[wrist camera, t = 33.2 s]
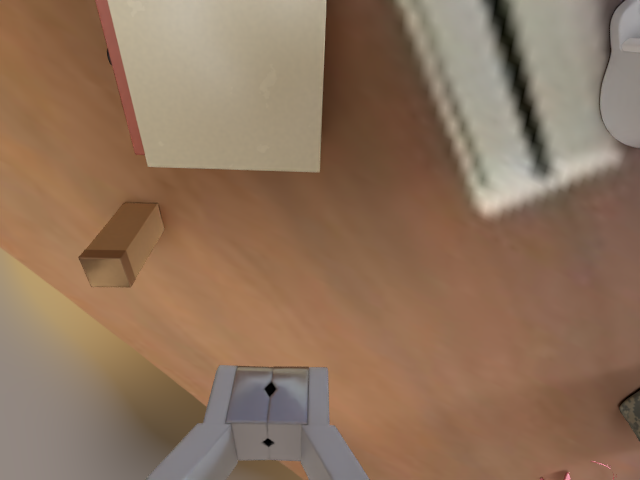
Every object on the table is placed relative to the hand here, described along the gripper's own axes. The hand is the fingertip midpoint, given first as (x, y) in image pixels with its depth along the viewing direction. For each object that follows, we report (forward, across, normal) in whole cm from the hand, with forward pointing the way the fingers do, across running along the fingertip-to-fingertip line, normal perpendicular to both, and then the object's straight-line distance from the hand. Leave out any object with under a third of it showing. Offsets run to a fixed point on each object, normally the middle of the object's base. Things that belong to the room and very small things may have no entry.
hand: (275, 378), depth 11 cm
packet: (+29, +17, +13) cm, 36 cm away
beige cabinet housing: (+29, +5, -3) cm, 30 cm away
